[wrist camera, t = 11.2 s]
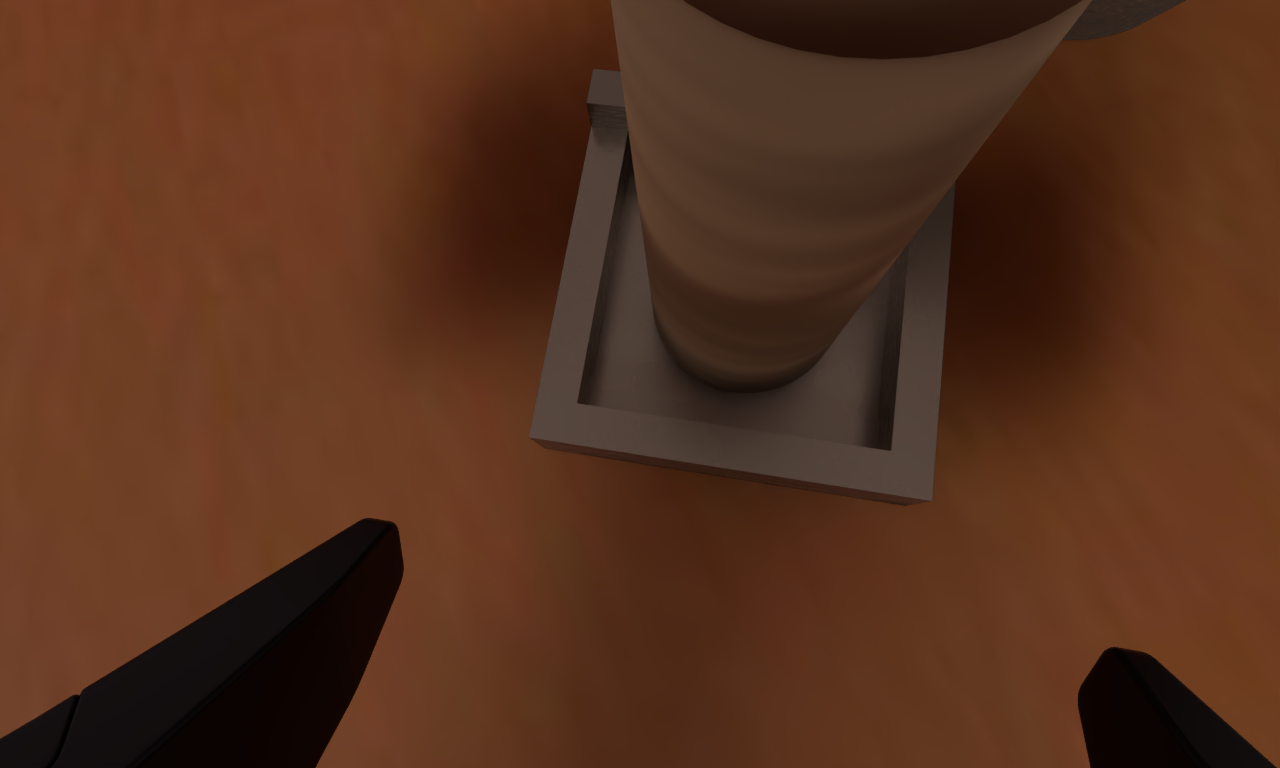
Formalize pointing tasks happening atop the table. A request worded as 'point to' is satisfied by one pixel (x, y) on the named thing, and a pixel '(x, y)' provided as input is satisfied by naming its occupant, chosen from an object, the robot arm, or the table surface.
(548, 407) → the grey tray
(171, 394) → the table surface
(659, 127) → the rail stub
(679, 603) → the table surface
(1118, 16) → the plant pot
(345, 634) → the robot arm
